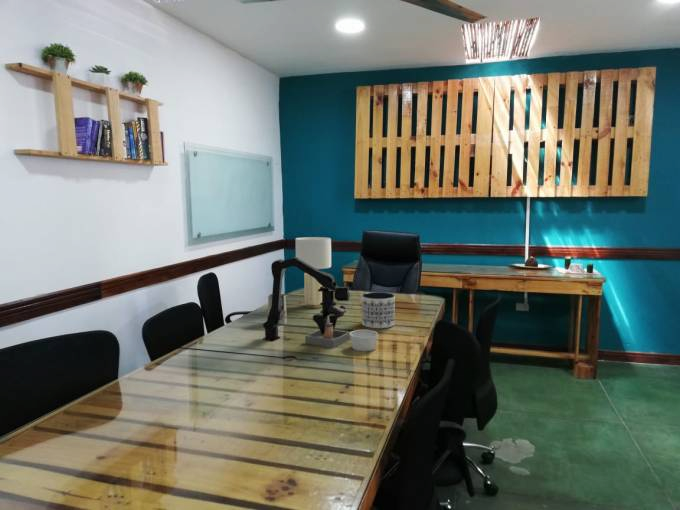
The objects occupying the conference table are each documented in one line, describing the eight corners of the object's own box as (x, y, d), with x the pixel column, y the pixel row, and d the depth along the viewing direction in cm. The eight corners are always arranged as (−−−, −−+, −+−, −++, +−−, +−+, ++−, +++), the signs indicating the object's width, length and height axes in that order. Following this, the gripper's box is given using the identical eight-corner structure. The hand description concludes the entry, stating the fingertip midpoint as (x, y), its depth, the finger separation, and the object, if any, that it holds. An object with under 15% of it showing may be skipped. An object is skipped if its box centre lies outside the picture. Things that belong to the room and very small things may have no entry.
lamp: (291, 304, 311) (290, 238, 306) (323, 301, 321) (322, 236, 316) (303, 311, 291) (302, 240, 286) (337, 308, 300) (336, 239, 295)
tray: (333, 348, 219) (333, 340, 218) (305, 343, 227) (305, 335, 226) (350, 339, 232) (350, 332, 232) (323, 334, 240) (322, 328, 240)
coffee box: (287, 321, 268) (286, 293, 266) (284, 324, 261) (284, 296, 259) (271, 321, 268) (270, 293, 267) (268, 324, 262) (267, 295, 260)
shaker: (329, 342, 226) (329, 324, 225) (321, 340, 229) (320, 323, 228) (335, 339, 230) (334, 322, 229) (326, 337, 233) (326, 321, 232)
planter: (394, 320, 268) (394, 292, 266) (394, 329, 250) (395, 298, 248) (362, 320, 270) (362, 292, 268) (360, 328, 252) (360, 298, 250)
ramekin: (375, 353, 211) (375, 338, 210) (347, 351, 214) (347, 336, 213) (379, 344, 224) (379, 330, 223) (352, 343, 227) (352, 329, 226)
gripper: (332, 305, 215) (332, 339, 217) (351, 298, 231) (351, 329, 233) (311, 303, 221) (312, 335, 223) (332, 296, 237) (332, 326, 239)
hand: (328, 331), depth 229 cm, fingers open, 9 cm apart
